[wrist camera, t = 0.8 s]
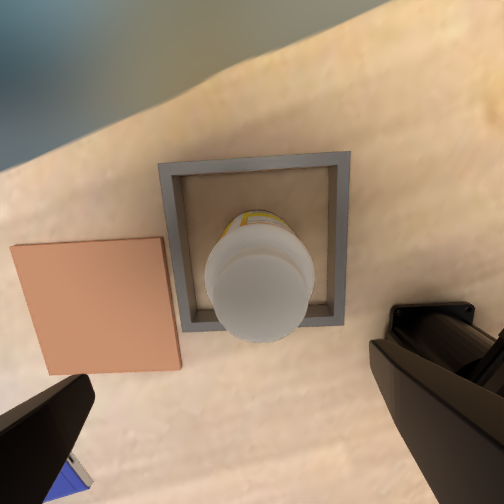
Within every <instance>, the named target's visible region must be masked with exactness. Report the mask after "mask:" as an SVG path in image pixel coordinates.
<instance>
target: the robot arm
mask: <svg viewBox="0 0 504 504" xmlns="http://www.w3.org/2000/svg"><path fill="white" fill-rule="evenodd" d="M467 307H468V308H467ZM466 308H467V309H466ZM465 309H466V310H465ZM398 310H400V312H399V313H397V311H398ZM474 311H475V307H474V306H473V305H472V304H470V303H468V302H454V303H433V304H411V305H396V306H394V307H393V308H392V309H391V315H390V326H389V330H388V332H387V340H386V339H375V340H371V341H370V342H369V354H370V367H371V370H372V373H373V375H374V378H375V380H376V382H377V384H378V387H379V389H380V391H381V394H382V396H383V398H384V400H385V403H386V405H387V407H388V410H389V412H390V414H391V416H392V419H393V421H394V423H395V425H396V427H397V429H398V431H399V432H400V434H401V436H402V438H403V440H404V441H405V443H406V445H407V447H408V449H409V450H410V452H411V454H412V456H413V458H414V459H415V461H416V463H417V465H418V466H419V468H420V470H421V472H422V474H423V475H424V477H425V479H426V481H427V483H428V484H429V486H430V488H431V490H432V492H433V493H434V495H435V497H436V499H437V500H438V502H439V504H504V328H503V330H502V331H501V332H500V333H499V335H498V336H500V337H499V338H498V339H495V338H494V337H492V336H490V335H489V334H487V333H486V332H484V331H483V330H481V329H480V328H478V327H476V326H475V325H473V324H472V322H473V317H474ZM94 401H95V392H94V390H93V387H92V384H91V381H90V379H89V376H88V375H87V374H84V373H83V374H75V375H71V376H69V377H68V378H66V379H64V380H62V381H60V382H59V383H57V384H55V385H53V386H52V387H50V388H48V389H46V390H45V391H43V392H41V393H39V394H37V395H36V396H34V397H32V398H30V399H29V400H27V401H25V402H23V403H22V404H20V405H18V406H16V407H14V408H13V409H11V410H9V411H7V412H6V413H4V414H2V415H0V504H43V502H44V500H45V498H46V496H47V495H48V493H49V491H50V489H51V487H52V486H53V484H54V482H55V480H56V479H57V477H58V475H59V473H60V471H61V470H62V468H63V466H64V464H65V462H66V460H67V459H68V457H69V455H70V453H71V451H72V449H73V447H74V445H75V442H76V440H77V438H78V436H79V434H80V432H81V429H82V427H83V425H84V423H85V421H86V419H87V416H88V414H89V412H90V410H91V408H92V406H93V404H94Z"/></svg>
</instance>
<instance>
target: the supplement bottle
mask: <svg viewBox="0 0 504 504" xmlns="http://www.w3.org/2000/svg"><path fill="white" fill-rule="evenodd" d="M204 283H205V289H206V292H207V295H208V298H209V300H210V302H211V303H212V305H213V307H214V311H215V314H216V316H217V318H218V320H219V322H220V323H221V324H222V326H223V327H224V328H225V329H226V330H227V331H228V332H230V333H231V334H232V335H234V336H235V337H237V338H240V339H242V340H245V341H248V342H253V343H268V342H273V341H277V340H279V339H282V338H284V337H286V336H287V335H289V334H290V333H292V332H293V331H294V330H295V329H296V328H297V327H298V326H299V325H300V323H301V322H302V320H303V319H304V317H305V314H306V311H307V308H308V302H309V300H310V298H311V295H312V292H313V289H314V284H315V271H314V265H313V261H312V258H311V256H310V254H309V252H308V250H307V249H306V247H305V246H304V244H303V243H302V242H301V241H300V239H299V238H298V237H297V236H296V235H295V233H294V232H293V231H292V230H291V229H290V227H289V226H288V225H287V224H286V223H285V221H283V220H282V218H280V217H279V216H277V215H275V214H273V213H271V212H268V211H263V210H252V211H248V212H245V213H242V214H240V215H239V216H237V217H236V218H234V219H233V220H232V221H231V222H230V223H229V225H228V226H227V228H226V229H225V231H224V232H223V234H222V235H221V237H220V238H219V240H218V241H217V243H216V244H215V246H214V247H213V249H212V251H211V253H210V255H209V257H208V260H207V262H206V266H205V272H204Z"/></svg>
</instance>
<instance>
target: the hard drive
mask: <svg viewBox="0 0 504 504" xmlns="http://www.w3.org/2000/svg"><path fill="white" fill-rule="evenodd" d="M92 483H93V480H92V478H91V477H90V476H89V474H88V473H87V472H86V470H85V469H84V468H83V466H82V465H81V464H80V462H79V461H78V460H77V458H76V457H75V456H74V454H73V453H72V452H71V453H70V455H69V457H68V459H67V460H66V462H65V464H64V466H63V468H62V470H61V471H60V473H59V475H58V477H57V479H56V480H55V482H54V484H53V486H52V487H51V489H50V491H49V493H48V495H47V496H46V498H45V500H44V502H48V501H51V500H54V499H58V498H61V497H64V496H68V495H71V494H74V493H77V492H81V491H84V490H87V489H90V487H91V485H92ZM44 502H43V503H44Z"/></svg>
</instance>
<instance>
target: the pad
mask: <svg viewBox="0 0 504 504" xmlns="http://www.w3.org/2000/svg"><path fill="white" fill-rule="evenodd" d="M9 248H10V251H11V254H12V257H13V261H14V264H15V267H16V270H17V273H18V277H19V280H20V283H21V286H22V289H23V293H24V296H25V299H26V302H27V305H28V309H29V312H30V315H31V318H32V321H33V325H34V328H35V331H36V334H37V337H38V341H39V344H40V347H41V350H42V353H43V357H44V360H45V363H46V366H47V369H48V373H49V375H72V374H83V373H84V374H97V373H123V372H148V371H173V370H181V368H182V362H181V356H180V349H179V343H178V336H177V330H176V323H175V317H174V310H173V303H172V297H171V290H170V284H169V277H168V271H167V264H166V257H165V251H164V244H163V238H162V237H156V238H138V239H120V240H102V241H85V242H67V243H49V244H31V245H14V246H11V247H9Z"/></svg>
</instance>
